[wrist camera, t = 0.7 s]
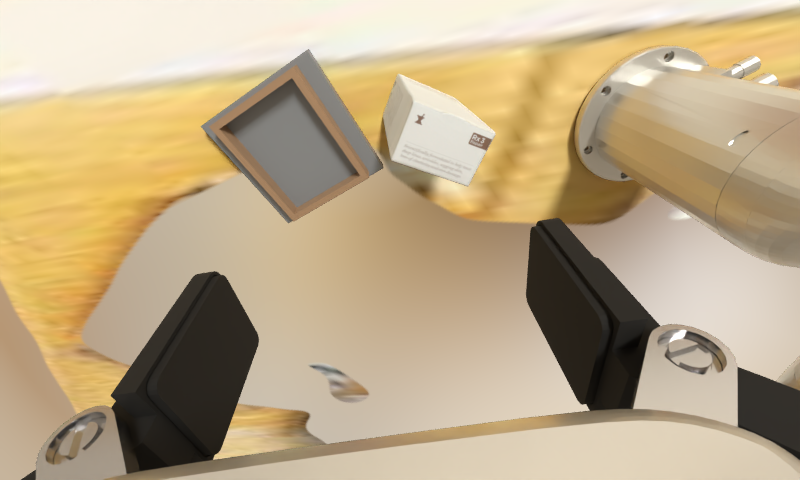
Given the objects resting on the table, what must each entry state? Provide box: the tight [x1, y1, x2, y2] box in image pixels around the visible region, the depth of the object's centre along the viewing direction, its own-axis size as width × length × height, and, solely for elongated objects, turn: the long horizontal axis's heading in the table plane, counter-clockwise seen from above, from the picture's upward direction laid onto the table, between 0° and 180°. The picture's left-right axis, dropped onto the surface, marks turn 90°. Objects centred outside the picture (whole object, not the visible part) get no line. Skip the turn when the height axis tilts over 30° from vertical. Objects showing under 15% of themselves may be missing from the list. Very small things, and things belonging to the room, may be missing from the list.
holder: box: [201, 49, 383, 223], centre depth 33 cm, size 12×12×2 cm
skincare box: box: [383, 74, 495, 186], centre depth 28 cm, size 6×4×12 cm
